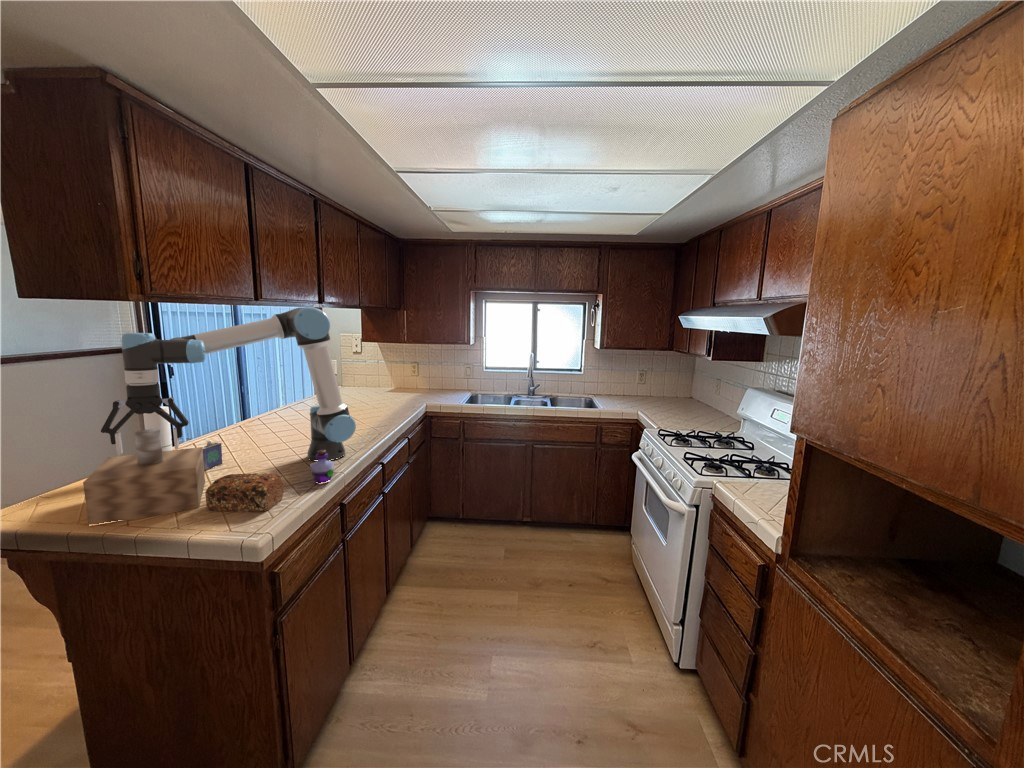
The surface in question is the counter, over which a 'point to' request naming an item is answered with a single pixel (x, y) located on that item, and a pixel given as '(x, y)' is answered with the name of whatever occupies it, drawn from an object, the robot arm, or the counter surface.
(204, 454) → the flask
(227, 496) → the bread
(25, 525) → the counter surface
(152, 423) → the cylindrical container
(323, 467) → the potion bottle
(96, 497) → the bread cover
